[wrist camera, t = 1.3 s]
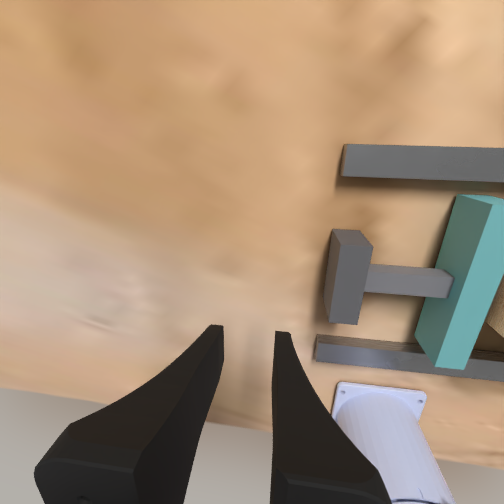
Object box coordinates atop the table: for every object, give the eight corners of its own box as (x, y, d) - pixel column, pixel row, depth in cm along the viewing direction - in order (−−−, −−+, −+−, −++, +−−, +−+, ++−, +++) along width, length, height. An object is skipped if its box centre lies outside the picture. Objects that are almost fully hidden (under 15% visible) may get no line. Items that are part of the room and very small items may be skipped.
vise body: (578, 379, 23) (626, 418, 20) (314, 351, 25) (318, 382, 22) (720, 153, 16) (828, 156, 13) (343, 144, 18) (355, 143, 15)
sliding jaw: (439, 338, 23) (463, 369, 20) (318, 326, 24) (323, 354, 21) (488, 195, 18) (531, 206, 15) (338, 188, 19) (348, 197, 16)
